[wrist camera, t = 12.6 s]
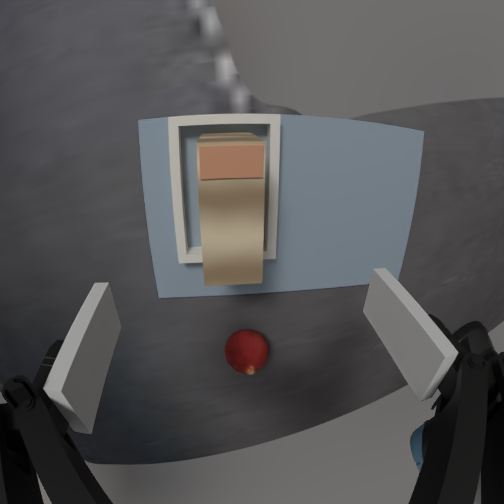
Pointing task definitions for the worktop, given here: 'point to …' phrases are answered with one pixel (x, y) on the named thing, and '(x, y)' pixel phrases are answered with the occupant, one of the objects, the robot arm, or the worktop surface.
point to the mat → (296, 203)
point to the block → (231, 206)
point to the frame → (272, 177)
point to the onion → (246, 351)
